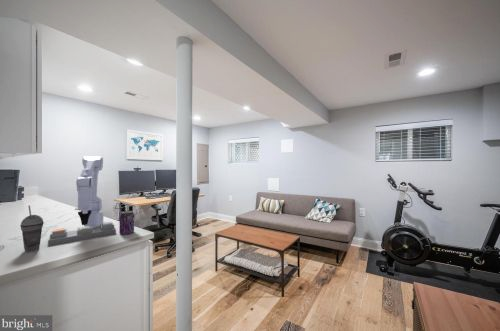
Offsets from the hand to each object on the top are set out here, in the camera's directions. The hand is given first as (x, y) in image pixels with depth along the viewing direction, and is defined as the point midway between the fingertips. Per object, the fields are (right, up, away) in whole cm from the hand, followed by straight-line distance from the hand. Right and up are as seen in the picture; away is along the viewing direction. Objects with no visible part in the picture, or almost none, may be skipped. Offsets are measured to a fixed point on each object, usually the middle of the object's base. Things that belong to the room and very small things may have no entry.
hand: (84, 224), depth 109 cm
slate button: (+8, -3, +6) cm, 10 cm away
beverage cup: (-9, -6, -18) cm, 21 cm away
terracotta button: (-8, -3, -7) cm, 10 cm away
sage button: (0, -4, 0) cm, 4 cm away
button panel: (0, -6, 0) cm, 6 cm away
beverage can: (+19, -7, +6) cm, 21 cm away
